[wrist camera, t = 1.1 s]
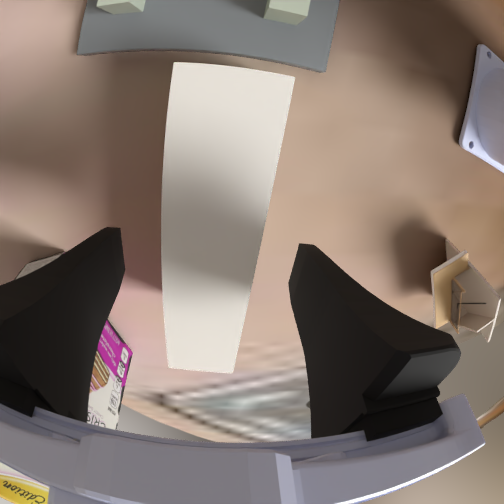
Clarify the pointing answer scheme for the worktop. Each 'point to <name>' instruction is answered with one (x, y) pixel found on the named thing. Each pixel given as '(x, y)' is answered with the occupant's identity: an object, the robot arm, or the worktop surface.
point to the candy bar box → (99, 406)
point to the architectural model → (463, 295)
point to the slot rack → (214, 28)
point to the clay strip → (216, 204)
